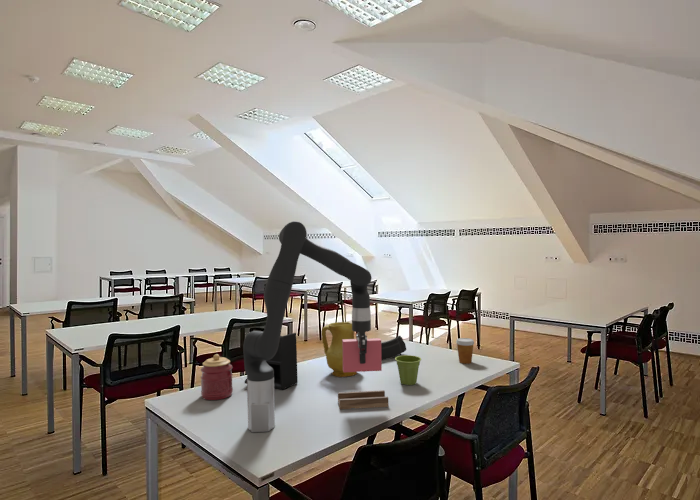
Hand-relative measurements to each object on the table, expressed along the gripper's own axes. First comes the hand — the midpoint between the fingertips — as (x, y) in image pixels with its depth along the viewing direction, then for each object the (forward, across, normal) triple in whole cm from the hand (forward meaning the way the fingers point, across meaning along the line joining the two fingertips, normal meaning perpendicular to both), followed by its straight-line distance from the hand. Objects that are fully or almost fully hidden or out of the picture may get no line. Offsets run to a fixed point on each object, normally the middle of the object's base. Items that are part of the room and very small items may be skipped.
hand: (361, 361), depth 175 cm
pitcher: (+17, +44, +4) cm, 47 cm away
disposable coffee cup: (+17, +53, -62) cm, 83 cm away
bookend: (+17, +33, +38) cm, 53 cm away
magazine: (+17, +68, -22) cm, 73 cm away
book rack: (+17, 0, 0) cm, 17 cm away
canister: (+17, +19, +60) cm, 65 cm away
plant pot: (+17, +23, -24) cm, 37 cm away
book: (+3, 0, 0) cm, 3 cm away
